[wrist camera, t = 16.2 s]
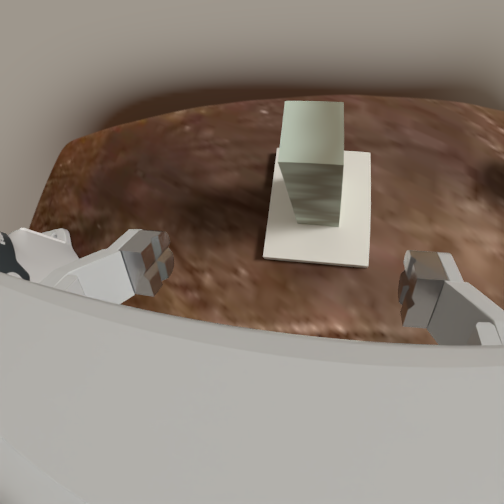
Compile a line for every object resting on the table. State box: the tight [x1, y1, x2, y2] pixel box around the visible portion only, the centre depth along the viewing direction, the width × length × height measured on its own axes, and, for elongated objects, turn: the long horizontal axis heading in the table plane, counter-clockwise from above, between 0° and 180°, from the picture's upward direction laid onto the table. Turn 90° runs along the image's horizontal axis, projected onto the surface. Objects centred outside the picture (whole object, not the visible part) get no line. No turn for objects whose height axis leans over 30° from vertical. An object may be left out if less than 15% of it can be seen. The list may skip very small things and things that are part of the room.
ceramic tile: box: [263, 148, 371, 268], centre depth 30 cm, size 10×12×1 cm
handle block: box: [278, 101, 344, 227], centre depth 24 cm, size 4×5×12 cm
